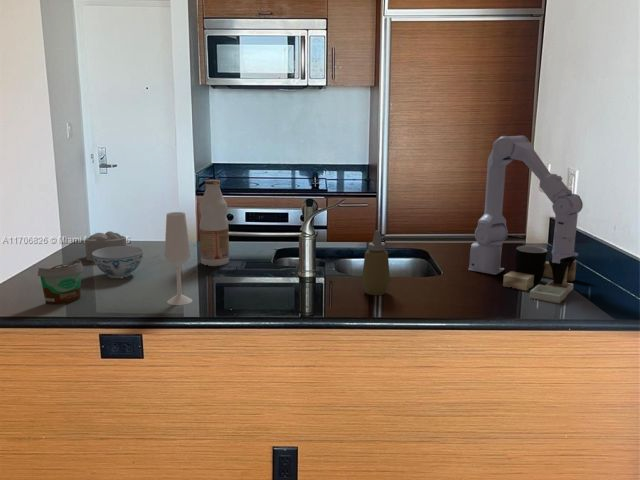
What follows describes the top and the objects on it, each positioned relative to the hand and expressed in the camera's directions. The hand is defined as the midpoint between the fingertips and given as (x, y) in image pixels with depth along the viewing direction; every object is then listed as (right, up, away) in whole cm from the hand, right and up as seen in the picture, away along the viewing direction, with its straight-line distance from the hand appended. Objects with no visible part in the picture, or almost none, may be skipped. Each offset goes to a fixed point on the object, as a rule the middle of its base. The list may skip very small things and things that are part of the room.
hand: (559, 282), depth 171 cm
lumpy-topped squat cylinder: (-144, +6, +33) cm, 148 cm away
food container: (-138, -4, -13) cm, 139 cm away
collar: (0, -2, 0) cm, 2 cm away
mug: (-6, 0, +10) cm, 12 cm away
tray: (-6, -4, -7) cm, 10 cm away
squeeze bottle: (-54, -3, -4) cm, 55 cm away
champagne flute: (-108, -4, -13) cm, 109 cm away
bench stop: (+1, +1, +15) cm, 15 cm away
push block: (-11, -2, +4) cm, 12 cm away
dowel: (0, -2, 0) cm, 2 cm away
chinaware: (-132, +1, +11) cm, 133 cm away
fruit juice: (-106, +4, +27) cm, 109 cm away
